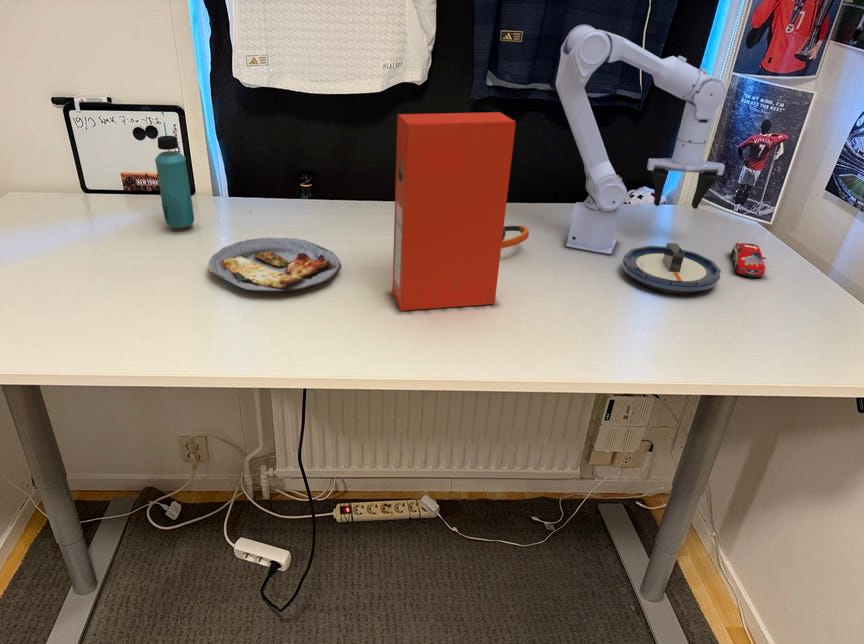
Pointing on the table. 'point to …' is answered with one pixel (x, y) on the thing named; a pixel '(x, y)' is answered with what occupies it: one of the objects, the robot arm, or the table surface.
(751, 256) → the race car
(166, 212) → the beverage bottle
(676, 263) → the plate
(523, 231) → the headphones
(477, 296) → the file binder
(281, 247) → the food plate
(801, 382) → the table surface
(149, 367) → the table surface
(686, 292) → the turntable base
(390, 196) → the table surface
